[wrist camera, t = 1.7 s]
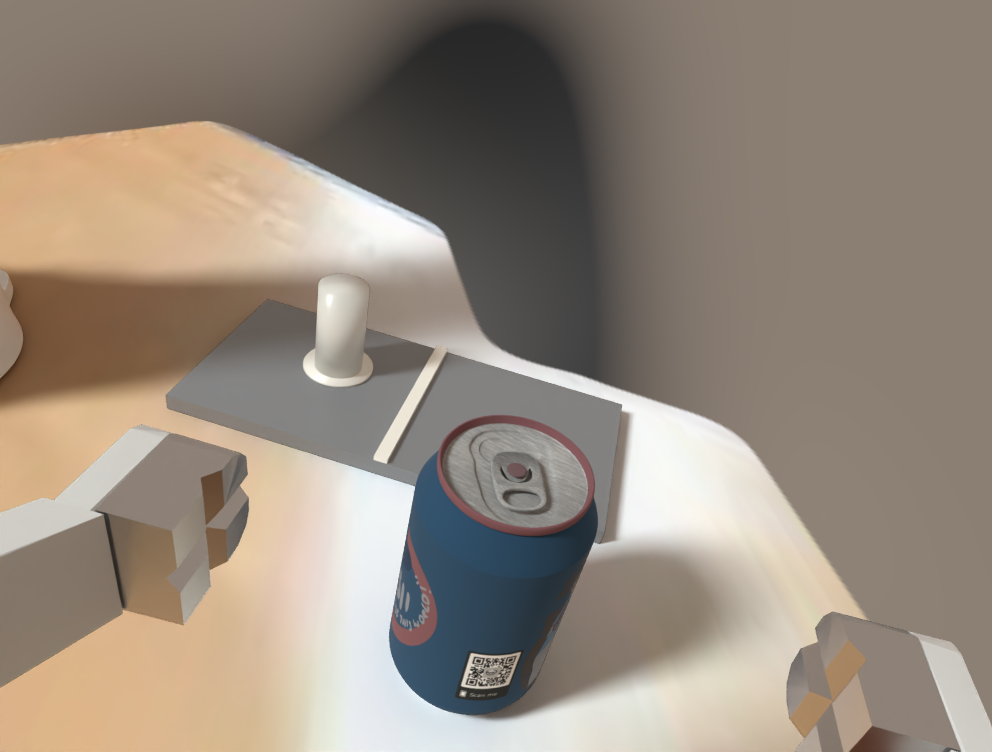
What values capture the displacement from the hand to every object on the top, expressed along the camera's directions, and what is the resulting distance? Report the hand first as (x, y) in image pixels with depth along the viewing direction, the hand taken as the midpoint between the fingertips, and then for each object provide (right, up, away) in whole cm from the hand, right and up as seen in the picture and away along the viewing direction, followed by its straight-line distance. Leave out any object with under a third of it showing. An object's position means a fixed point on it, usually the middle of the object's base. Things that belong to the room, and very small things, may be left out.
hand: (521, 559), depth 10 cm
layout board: (-6, 0, +35) cm, 35 cm away
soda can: (-2, -10, +22) cm, 25 cm away
